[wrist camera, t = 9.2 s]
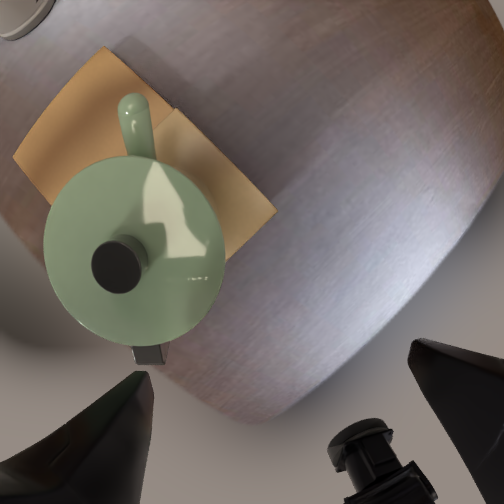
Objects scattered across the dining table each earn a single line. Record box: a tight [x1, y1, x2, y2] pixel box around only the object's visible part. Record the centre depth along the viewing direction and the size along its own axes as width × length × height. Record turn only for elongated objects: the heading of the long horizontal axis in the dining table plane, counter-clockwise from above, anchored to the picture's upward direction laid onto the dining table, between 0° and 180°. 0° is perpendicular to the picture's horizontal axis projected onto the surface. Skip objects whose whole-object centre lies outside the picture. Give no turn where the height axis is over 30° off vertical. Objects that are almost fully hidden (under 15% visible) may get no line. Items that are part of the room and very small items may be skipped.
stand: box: [13, 46, 278, 262], centre depth 16 cm, size 16×10×4 cm, turn 43°
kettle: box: [44, 93, 226, 365], centre depth 11 cm, size 10×6×8 cm, turn 0°
